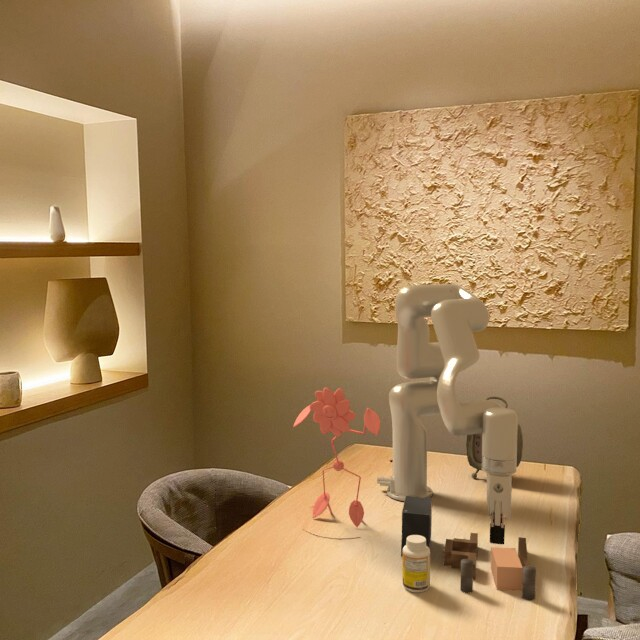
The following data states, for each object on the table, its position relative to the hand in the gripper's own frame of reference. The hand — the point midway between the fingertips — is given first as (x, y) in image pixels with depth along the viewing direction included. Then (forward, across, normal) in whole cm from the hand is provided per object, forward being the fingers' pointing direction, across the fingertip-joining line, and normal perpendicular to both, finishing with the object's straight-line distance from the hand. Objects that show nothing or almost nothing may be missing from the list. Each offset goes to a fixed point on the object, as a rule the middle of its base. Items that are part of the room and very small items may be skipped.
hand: (496, 542), depth 155 cm
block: (+2, -13, -2) cm, 13 cm away
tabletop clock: (+3, +50, +1) cm, 50 cm away
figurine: (+3, +6, +40) cm, 40 cm away
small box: (+3, -2, +18) cm, 18 cm away
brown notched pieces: (+2, -9, +2) cm, 10 cm away
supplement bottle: (+3, -20, +16) cm, 26 cm away
